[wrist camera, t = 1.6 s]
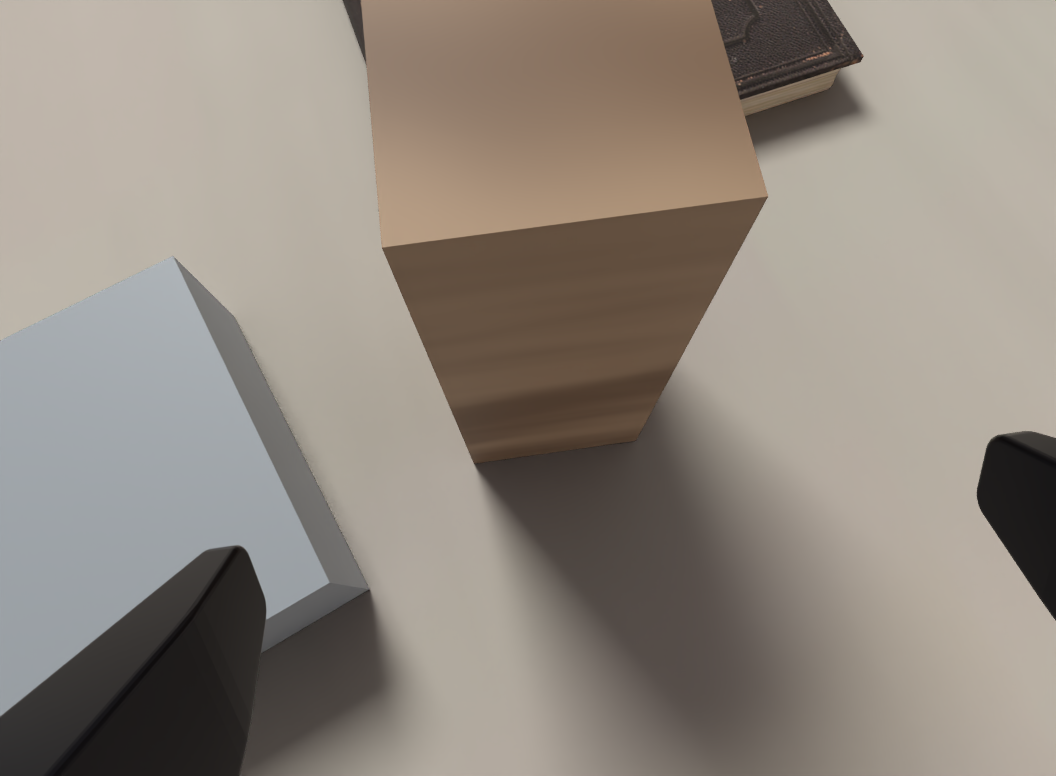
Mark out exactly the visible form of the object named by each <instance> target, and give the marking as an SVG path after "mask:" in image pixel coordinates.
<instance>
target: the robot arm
mask: <svg viewBox="0 0 1056 776" xmlns="http://www.w3.org/2000/svg"><path fill="white" fill-rule="evenodd" d="M977 500H978V504H979V507H980V509H981V511H982V513H983V515H984V516H985V518H986V519H987V521H988V522H989V524H990V525H991V526H992V528H993V529H994V531H995V532H996V534H997V535H998V537H999V538H1000V540H1001V541H1002V543H1003V544H1004V546H1005V547H1006V549H1007V550H1008V552H1009V553H1010V555H1011V556H1012V558H1013V559H1014V561H1015V562H1016V564H1017V565H1018V567H1019V568H1020V570H1021V571H1022V573H1023V574H1024V576H1025V577H1026V579H1027V580H1028V581H1029V583H1030V584H1031V586H1032V587H1033V589H1034V590H1035V592H1036V593H1037V595H1038V596H1039V598H1040V599H1041V601H1042V602H1043V604H1044V605H1045V606H1046V608H1047V609H1048V611H1049V612H1050V613H1051V615H1052V616H1053V618H1054V619H1055V620H1056V438H1054V437H1050V436H1047V435H1043V434H1040V433H1036V432H1032V431H1022V432H1015V433H1008V434H1002V435H997V436H995V437H993V438H992V439H991V440H990V442H989V443H988V445H987V448H986V452H985V456H984V461H983V465H982V470H981V474H980V479H979V483H978V487H977ZM266 613H267V608H266V600H265V596H264V593H263V591H262V588H261V585H260V583H259V580H258V577H257V575H256V572H255V569H254V567H253V564H252V561H251V559H250V556H249V554H248V552H247V551H246V549H245V548H244V547H242V546H240V545H233V546H226V547H219V548H212V549H208V550H205V551H204V552H202V553H201V554H200V555H199V556H197V557H196V558H195V559H194V560H192V561H191V562H190V563H189V564H187V565H186V566H185V567H184V568H182V569H181V570H180V571H179V572H178V573H176V574H175V575H174V576H173V577H171V578H170V579H169V580H168V581H166V582H165V583H164V584H163V585H162V586H160V587H159V588H158V589H157V590H155V591H154V592H153V593H152V594H150V595H149V596H148V597H147V598H146V599H144V600H143V601H142V602H141V603H139V604H138V605H137V606H136V607H134V608H133V609H132V610H131V611H129V612H128V613H127V614H126V615H125V616H123V617H122V618H121V619H120V620H118V621H117V622H116V623H115V624H113V625H112V626H111V627H110V628H108V629H107V630H106V631H105V632H104V633H102V634H101V635H100V636H99V637H97V638H96V639H95V640H94V641H92V642H91V643H90V644H89V645H88V646H86V647H85V648H84V649H83V650H81V651H80V652H79V653H78V654H76V655H75V656H74V657H73V658H71V659H70V660H69V661H68V662H67V663H65V664H64V665H63V666H62V667H60V668H59V669H58V670H57V671H55V672H54V673H53V674H52V675H50V676H49V677H48V678H47V679H46V680H44V681H43V682H42V683H41V684H39V685H38V686H37V687H36V688H34V689H33V690H32V691H31V692H29V693H28V694H27V695H26V696H25V697H23V698H22V699H21V700H20V701H18V702H17V703H16V704H15V705H13V706H12V707H11V708H10V709H9V710H7V711H6V712H5V713H4V714H2V715H1V716H0V776H239V775H240V771H241V768H242V764H243V760H244V755H245V751H246V747H247V742H248V737H249V731H250V726H251V720H252V713H253V706H254V699H255V692H256V685H257V678H258V671H259V664H260V658H261V651H262V644H263V637H264V630H265V623H266Z"/></svg>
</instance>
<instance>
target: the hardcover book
mask: <svg viewBox="0 0 1056 776" xmlns="http://www.w3.org/2000/svg"><path fill="white" fill-rule="evenodd" d="M343 2H344V4H345V7H346V10H347V13H348V15H349V18H350V21H351V24H352V26H353V29H354V32H355V35H356V37H357V40H358V43H359V46H360V48H361V51H362V54H363V57H364V59H365V62H366V53H365V41H364V29H363V18H362V6H361V0H343ZM711 2H712V5H713V9H714V12H715V16H716V19H717V23H718V26H719V29H720V33H721V36H722V40H723V43H724V47H725V50H726V53H727V57H728V60H729V64H730V67H731V71H732V74H733V77H734V81H735V84H736V88H737V91H738V95H739V98H740V102H741V105H742V108H743V112H744V115H745V116H747V115H750V114H754V113H757V112H760V111H763V110H766V109H769V108H772V107H775V106H778V105H781V104H784V103H788V102H791V101H794V100H797V99H800V98H803V97H806V96H809V95H812V94H815V93H818V92H821V91H825V90H828V89H830V86H832V85H833V82H834V80H835V77H836V75H837V73H838V72H839V71H840V69H841V68H843V67H846V66H849V65H853V64H856V63H859V62H861V60H862V58H863V57H864V56H863V54H862V53H861V51H860V50H859V48H858V47H857V45H856V44H855V42H854V41H853V39H852V38H851V36H850V35H849V33H848V31H847V30H846V28H845V27H844V25H843V24H842V22H841V21H840V19H839V18H838V16H837V15H836V13H835V12H834V10H833V9H832V7H831V6H830V4H829V2H828V1H827V0H711Z"/></svg>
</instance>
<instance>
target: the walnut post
mask: <svg viewBox="0 0 1056 776" xmlns="http://www.w3.org/2000/svg"><path fill="white" fill-rule="evenodd" d="M361 6H362V18H363V29H364V41H365V53H366V65H367V77H368V89H369V101H370V112H371V124H372V136H373V148H374V160H375V172H376V184H377V196H378V207H379V219H380V231H381V243H382V249H383V251H384V254H385V256H386V258H387V261H388V263H389V265H390V268H391V270H392V272H393V275H394V277H395V279H396V282H397V284H398V287H399V289H400V291H401V294H402V296H403V298H404V301H405V303H406V305H407V308H408V310H409V312H410V315H411V317H412V319H413V322H414V324H415V326H416V329H417V331H418V333H419V336H420V338H421V340H422V343H423V345H424V347H425V350H426V352H427V354H428V357H429V359H430V362H431V364H432V366H433V369H434V371H435V373H436V376H437V378H438V380H439V383H440V385H441V387H442V390H443V392H444V394H445V397H446V399H447V401H448V404H449V406H450V408H451V411H452V413H453V415H454V418H455V420H456V422H457V425H458V427H459V430H460V432H461V434H462V437H463V439H464V441H465V444H466V446H467V448H468V451H469V453H470V455H471V458H472V460H473V462H474V464H476V463H483V462H490V461H497V460H504V459H511V458H518V457H525V456H532V455H539V454H546V453H553V452H560V451H567V450H574V449H581V448H588V447H595V446H602V445H609V444H616V443H623V442H630V441H636V439H637V438H638V436H639V434H640V432H641V430H642V428H643V427H644V425H645V423H646V421H647V419H648V417H649V415H650V414H651V412H652V410H653V408H654V406H655V404H656V403H657V401H658V399H659V397H660V395H661V393H662V391H663V390H664V388H665V386H666V384H667V382H668V380H669V379H670V377H671V375H672V373H673V371H674V369H675V367H676V366H677V364H678V362H679V360H680V358H681V356H682V355H683V353H684V351H685V349H686V347H687V345H688V343H689V342H690V340H691V338H692V336H693V334H694V332H695V331H696V329H697V327H698V325H699V323H700V321H701V319H702V318H703V316H704V314H705V312H706V310H707V308H708V306H709V305H710V303H711V301H712V299H713V297H714V295H715V294H716V292H717V290H718V288H719V286H720V284H721V282H722V281H723V279H724V277H725V275H726V273H727V271H728V270H729V268H730V266H731V264H732V262H733V260H734V258H735V257H736V255H737V253H738V251H739V249H740V247H741V246H742V244H743V242H744V240H745V238H746V236H747V234H748V233H749V231H750V229H751V227H752V225H753V223H754V222H755V220H756V218H757V216H758V214H759V212H760V210H761V209H762V207H763V205H764V203H765V201H766V199H767V198H768V194H767V191H766V187H765V184H764V180H763V177H762V174H761V170H760V167H759V163H758V160H757V156H756V153H755V150H754V146H753V143H752V139H751V136H750V132H749V129H748V126H747V122H746V119H745V115H744V112H743V108H742V105H741V102H740V98H739V95H738V91H737V88H736V84H735V81H734V77H733V74H732V71H731V67H730V64H729V60H728V57H727V53H726V50H725V47H724V43H723V40H722V36H721V33H720V29H719V26H718V23H717V19H716V16H715V12H714V9H713V5H712V2H711V0H361Z"/></svg>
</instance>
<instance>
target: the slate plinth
mask: <svg viewBox="0 0 1056 776" xmlns="http://www.w3.org/2000/svg"><path fill="white" fill-rule="evenodd" d="M233 545H240V546H242V547H244V548H245V549H246V551H247V552H248V554H249V556H250V559H251V561H252V564H253V567H254V569H255V572H256V575H257V577H258V580H259V583H260V585H261V588H262V591H263V593H264V596H265V600H266V608H267V613H266V623H265V630H264V637H263V644H262V651H261V653H263V652H264V651H266V650H268V649H269V648H271V647H273V646H274V645H276V644H278V643H279V642H281V641H283V640H284V639H286V638H288V637H290V636H291V635H293V634H295V633H296V632H298V631H300V630H301V629H303V628H305V627H306V626H308V625H310V624H312V623H313V622H315V621H317V620H318V619H320V618H322V617H323V616H325V615H327V614H328V613H330V612H332V611H334V610H335V609H337V608H339V607H340V606H342V605H344V604H345V603H347V602H349V601H350V600H352V599H354V598H356V597H357V596H359V595H361V594H362V593H364V592H366V591H367V590H369V587H368V585H367V583H366V581H365V579H364V577H363V575H362V573H361V571H360V569H359V567H358V565H357V563H356V561H355V559H354V557H353V555H352V553H351V551H350V549H349V547H348V545H347V543H346V541H345V539H344V537H343V535H342V533H341V531H340V529H339V527H338V525H337V523H336V521H335V519H334V517H333V515H332V513H331V511H330V509H329V507H328V505H327V503H326V501H325V499H324V497H323V495H322V493H321V491H320V489H319V487H318V485H317V483H316V481H315V479H314V477H313V475H312V472H311V470H310V468H309V466H308V464H307V462H306V460H305V458H304V456H303V454H302V452H301V450H300V448H299V446H298V444H297V442H296V440H295V438H294V436H293V434H292V432H291V430H290V428H289V426H288V424H287V422H286V420H285V418H284V416H283V414H282V412H281V410H280V408H279V406H278V404H277V402H276V400H275V398H274V396H273V394H272V392H271V390H270V388H269V386H268V384H267V382H266V380H265V378H264V376H263V374H262V372H261V370H260V368H259V366H258V364H257V362H256V360H255V358H254V356H253V354H252V352H251V350H250V348H249V346H248V344H247V342H246V340H245V338H244V336H243V333H242V331H241V329H240V327H239V325H238V323H237V321H236V319H235V317H234V316H233V315H232V314H231V313H230V312H229V311H228V310H227V309H226V308H225V307H224V306H223V305H222V304H221V303H220V302H219V301H218V300H217V299H216V298H215V297H214V296H213V295H212V294H211V293H210V292H209V291H208V290H207V289H206V288H205V287H204V286H203V285H202V284H201V283H200V282H199V281H198V280H197V279H196V278H195V277H194V276H193V275H192V274H191V273H190V272H189V271H188V270H187V269H186V268H185V267H184V266H183V265H182V264H181V263H180V262H178V261H177V260H176V259H175V258H174V257H173V256H172V257H170V258H168V259H166V260H164V261H162V262H160V263H158V264H156V265H154V266H152V267H149V268H147V269H145V270H143V271H141V272H139V273H137V274H135V275H133V276H131V277H129V278H127V279H125V280H123V281H121V282H119V283H117V284H115V285H113V286H111V287H109V288H107V289H105V290H102V291H100V292H98V293H96V294H94V295H92V296H90V297H88V298H86V299H84V300H82V301H80V302H78V303H76V304H74V305H72V306H70V307H68V308H66V309H64V310H62V311H60V312H58V313H55V314H53V315H51V316H49V317H47V318H45V319H43V320H41V321H39V322H37V323H35V324H33V325H31V326H29V327H27V328H25V329H23V330H21V331H19V332H17V333H15V334H13V335H11V336H9V337H6V338H4V339H2V340H0V716H1V715H2V714H4V713H5V712H6V711H7V710H9V709H10V708H11V707H12V706H13V705H15V704H16V703H17V702H18V701H20V700H21V699H22V698H23V697H25V696H26V695H27V694H28V693H29V692H31V691H32V690H33V689H34V688H36V687H37V686H38V685H39V684H41V683H42V682H43V681H44V680H46V679H47V678H48V677H49V676H50V675H52V674H53V673H54V672H55V671H57V670H58V669H59V668H60V667H62V666H63V665H64V664H65V663H67V662H68V661H69V660H70V659H71V658H73V657H74V656H75V655H76V654H78V653H79V652H80V651H81V650H83V649H84V648H85V647H86V646H88V645H89V644H90V643H91V642H92V641H94V640H95V639H96V638H97V637H99V636H100V635H101V634H102V633H104V632H105V631H106V630H107V629H108V628H110V627H111V626H112V625H113V624H115V623H116V622H117V621H118V620H120V619H121V618H122V617H123V616H125V615H126V614H127V613H128V612H129V611H131V610H132V609H133V608H134V607H136V606H137V605H138V604H139V603H141V602H142V601H143V600H144V599H146V598H147V597H148V596H149V595H150V594H152V593H153V592H154V591H155V590H157V589H158V588H159V587H160V586H162V585H163V584H164V583H165V582H166V581H168V580H169V579H170V578H171V577H173V576H174V575H175V574H176V573H178V572H179V571H180V570H181V569H182V568H184V567H185V566H186V565H187V564H189V563H190V562H191V561H192V560H194V559H195V558H196V557H197V556H199V555H200V554H201V553H202V552H204V551H205V550H208V549H212V548H219V547H226V546H233Z"/></svg>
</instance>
